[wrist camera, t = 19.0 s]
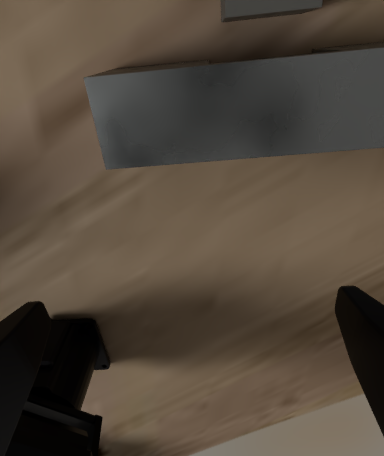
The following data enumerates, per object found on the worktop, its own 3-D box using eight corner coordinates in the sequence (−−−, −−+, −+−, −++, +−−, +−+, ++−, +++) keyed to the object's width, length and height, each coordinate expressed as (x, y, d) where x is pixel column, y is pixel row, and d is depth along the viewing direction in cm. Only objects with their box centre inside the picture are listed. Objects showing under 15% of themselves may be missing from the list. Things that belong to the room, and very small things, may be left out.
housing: (397, 119, 18) (456, 141, 14) (126, 142, 19) (106, 169, 15) (416, 38, 16) (492, 36, 12) (112, 69, 17) (83, 77, 13)
